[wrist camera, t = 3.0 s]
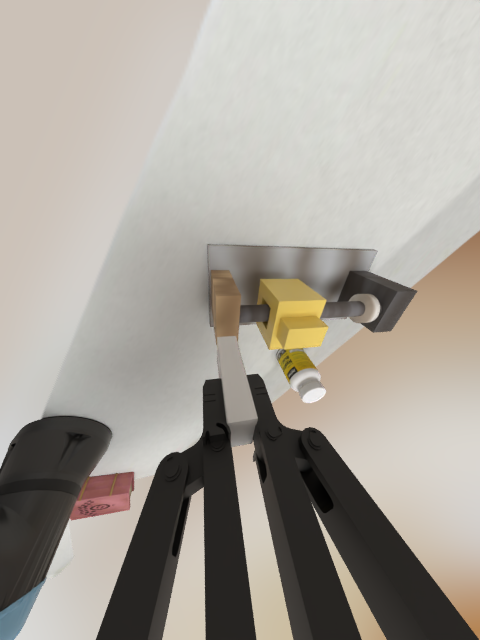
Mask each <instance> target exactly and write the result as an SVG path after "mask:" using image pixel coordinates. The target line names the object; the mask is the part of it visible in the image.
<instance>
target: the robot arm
mask: <svg viewBox="0 0 480 640" xmlns="http://www.w3.org/2000/svg"><path fill="white" fill-rule="evenodd" d="M217 364H218V373H219V379H211V380H206V381H205V384H204V386H203V433H202V436H201V438H200V440H199V441H198V442H197V443H196V444H195V445H194V446H192V447H191V448H189V449H187V450H185V451H184V452H182V453H179V452H174V453H171V454H169V455H167V456H166V457H165V458H164V459H163V460H162V461H161V462H160V464H159V466H158V468H157V470H156V473H155V476H154V479H153V481H152V484H151V487H150V490H149V493H148V496H147V498H146V501H145V504H144V507H143V509H142V512H141V515H140V518H139V521H138V524H137V526H136V529H135V532H134V535H133V537H132V540H131V543H130V546H129V549H128V551H127V554H126V557H125V560H124V563H123V565H122V568H121V571H120V574H119V576H118V579H117V582H116V585H115V588H114V590H113V593H112V596H111V599H110V602H109V604H108V607H107V610H106V613H105V616H104V618H103V621H102V624H101V627H100V630H99V632H98V635H97V638H96V640H162V637H163V632H164V627H165V622H166V618H167V613H168V608H169V603H170V598H171V593H172V587H173V583H174V579H175V574H176V569H177V564H178V559H179V554H180V549H181V544H182V539H183V534H184V530H185V524H186V519H187V515H188V510H189V505H190V500H191V495H193V494H194V493H196V492H197V491H198V490H200V489H201V488H203V487H204V541H205V542H204V543H205V544H204V545H205V617H206V619H205V620H206V640H256V633H255V626H254V618H253V610H252V603H251V595H250V587H249V579H248V572H247V564H246V556H245V548H244V540H243V533H242V525H241V518H240V510H239V502H238V494H237V487H236V478H235V471H234V463H233V455H232V448H231V447H235V446H240V445H246V444H251V443H252V442H253V441H254V446H255V451H254V455H253V461H255V460H256V465H257V469H258V474H259V479H260V484H261V488H262V493H263V498H264V502H265V507H266V511H267V516H268V521H269V526H270V530H271V535H272V540H273V545H274V549H275V554H276V559H277V564H278V568H279V573H280V577H281V582H282V587H283V592H284V597H285V602H286V606H287V611H288V616H289V620H290V625H291V630H292V635H293V639H294V640H362V639H361V637H360V634H359V631H358V628H357V625H356V623H355V620H354V618H353V615H352V612H351V609H350V607H349V604H348V601H347V598H346V596H345V593H344V590H343V587H342V585H341V582H340V579H339V577H338V574H337V571H336V568H335V566H334V563H333V561H332V558H331V555H330V552H329V549H328V547H327V544H326V541H325V539H324V536H323V533H322V530H321V528H320V525H319V522H318V519H317V517H316V514H315V511H314V509H313V506H314V508H315V510H316V512H317V513H318V515H319V517H320V518H321V521H322V522H323V524H324V526H325V528H326V530H327V532H328V533H329V535H330V537H331V539H332V541H333V542H334V544H335V546H336V548H337V550H338V552H339V553H340V555H341V557H342V559H343V561H344V562H345V564H346V566H347V568H348V570H349V572H350V573H351V575H352V577H353V579H354V581H355V583H356V584H357V586H358V588H359V590H360V592H361V593H362V595H363V597H364V599H365V601H366V603H367V604H368V606H369V608H370V610H371V612H372V613H373V615H374V617H375V619H376V621H377V623H378V624H379V626H380V628H381V630H382V632H383V633H384V635H385V637H386V639H387V640H479V639H478V638H477V636H476V635H475V634H474V632H473V631H472V630H471V628H470V627H469V626H468V624H467V623H466V622H465V620H464V619H463V618H462V616H461V615H460V614H459V613H458V611H457V610H456V609H455V607H454V606H453V605H452V603H451V602H450V601H449V599H448V598H447V597H446V595H445V594H444V593H443V592H442V590H441V589H440V587H439V586H438V585H437V584H436V582H435V581H434V580H433V578H432V577H431V576H430V574H429V573H428V572H427V570H426V569H425V568H424V566H423V565H422V564H421V562H420V561H419V560H418V558H417V557H416V556H415V555H414V553H413V552H412V551H411V549H410V548H409V547H408V545H407V544H406V543H405V541H404V540H403V539H402V537H401V536H400V535H399V533H397V531H396V530H395V528H394V527H393V526H392V524H391V523H390V522H389V520H388V519H387V518H386V516H385V515H384V514H383V512H382V511H381V510H380V509H379V507H378V506H377V504H376V503H375V502H374V500H373V499H372V498H371V497H370V495H369V494H368V493H367V491H366V490H365V489H364V487H363V486H362V485H361V484H360V482H359V481H358V479H357V478H356V477H355V476H354V474H353V473H352V472H351V470H350V469H349V468H348V466H347V465H346V464H345V462H344V461H343V460H342V458H341V457H340V456H339V454H338V453H337V452H336V451H335V449H334V448H333V447H332V445H331V444H330V443H329V441H328V440H327V439H326V437H325V436H324V435H323V434H322V433H321V432H320V431H319V430H317V429H315V428H311V427H309V428H305V430H303V431H299V430H295V429H290V428H287V427H285V426H283V425H282V424H281V423H280V422H279V421H278V419H277V417H276V415H275V412H274V410H273V407H272V404H271V401H270V398H269V395H268V392H267V390H266V387H265V384H264V381H263V379H262V378H261V377H260V376H259V375H258V374H252V375H246V372H245V368H244V364H243V361H242V357H241V353H240V349H239V346H238V342H237V338H236V336H226V337H217ZM111 438H112V433H111V431H110V430H109V429H108V428H107V427H106V426H104V425H103V424H101V423H98V422H96V421H93V420H89V419H84V418H78V417H52V418H45V419H41V420H37V421H34V422H32V423H29V424H27V425H26V426H24V427H23V428H22V429H21V430H20V431H19V433H18V434H17V435H16V436H15V438H14V439H13V440H12V442H11V443H10V445H9V448H8V452H7V454H6V457H5V459H4V461H3V463H2V466H1V468H0V640H14V639H15V638H16V636H17V635H18V634H19V632H20V631H21V629H22V627H23V626H24V624H25V622H26V619H27V617H28V615H29V613H30V611H31V609H32V607H33V604H34V602H35V600H36V598H37V596H38V594H39V592H40V589H41V587H42V586H43V584H44V583H45V580H46V578H47V577H46V575H47V572H48V570H49V567H50V565H51V562H52V560H53V558H54V555H55V553H56V550H57V548H58V545H59V543H60V540H61V538H62V535H63V533H64V530H65V528H66V525H67V523H68V521H69V518H70V516H71V513H72V511H73V508H74V506H75V503H76V501H77V498H78V496H79V493H80V491H81V489H82V486H83V484H84V482H85V481H86V480H87V478H88V477H89V475H90V474H91V472H92V471H93V470H94V468H95V467H96V465H97V464H98V462H99V461H100V459H101V458H102V456H103V455H104V454H105V452H106V451H107V449H108V446H109V444H110V441H111ZM311 502H312V503H311ZM312 504H313V506H312Z"/></svg>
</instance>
